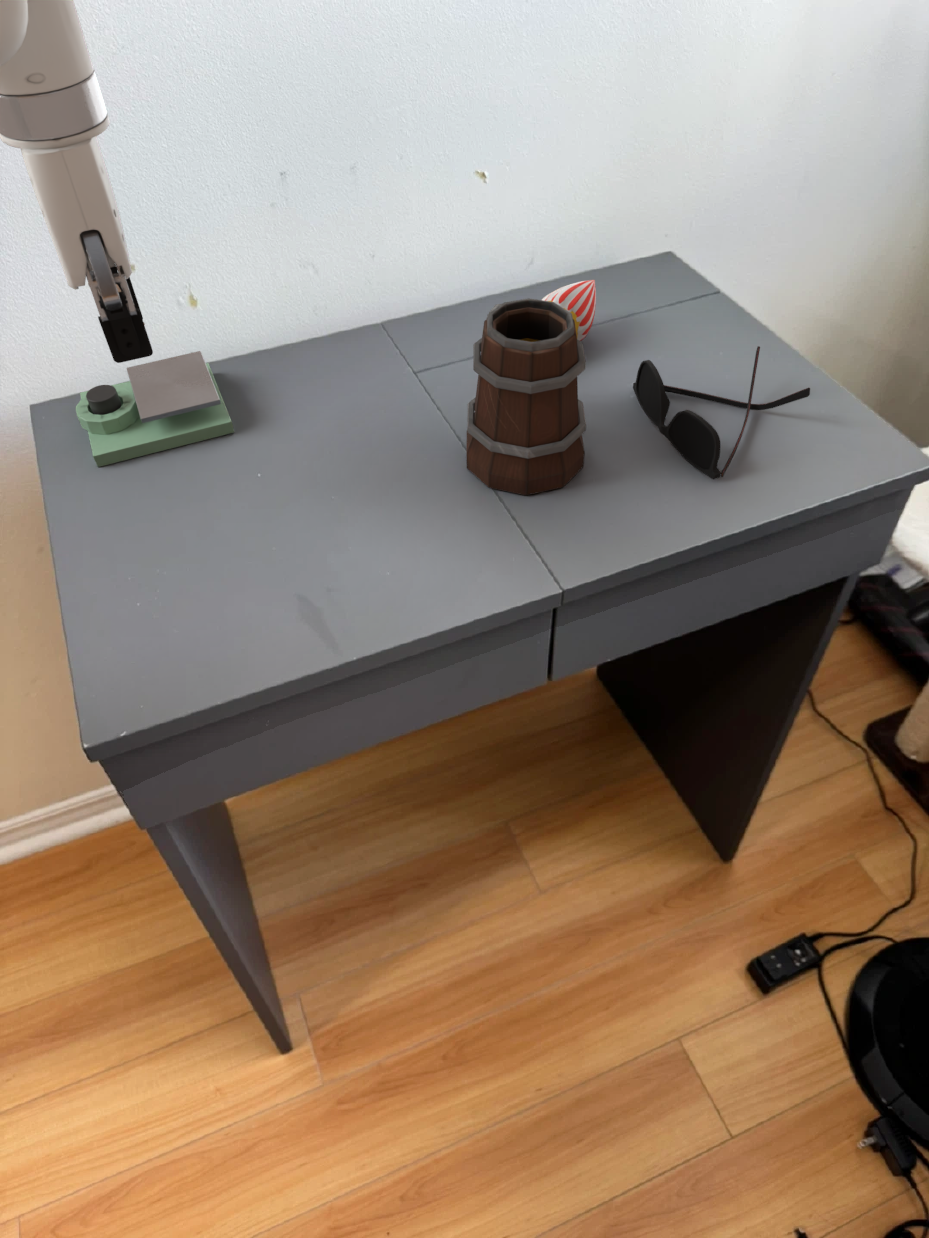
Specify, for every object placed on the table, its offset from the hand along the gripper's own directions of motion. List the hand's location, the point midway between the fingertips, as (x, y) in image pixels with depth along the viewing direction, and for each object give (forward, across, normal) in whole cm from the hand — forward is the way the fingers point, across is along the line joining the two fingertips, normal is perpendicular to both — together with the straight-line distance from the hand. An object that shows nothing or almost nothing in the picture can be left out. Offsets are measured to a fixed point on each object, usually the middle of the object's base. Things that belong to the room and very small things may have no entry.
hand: (128, 338), depth 74 cm
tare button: (+13, -11, -5) cm, 18 cm away
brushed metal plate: (+13, -12, +2) cm, 17 cm away
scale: (+16, -12, 0) cm, 19 cm away
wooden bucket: (+16, +8, +33) cm, 37 cm away
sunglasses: (+16, +13, +54) cm, 58 cm away
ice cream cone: (+16, -6, +43) cm, 46 cm away
